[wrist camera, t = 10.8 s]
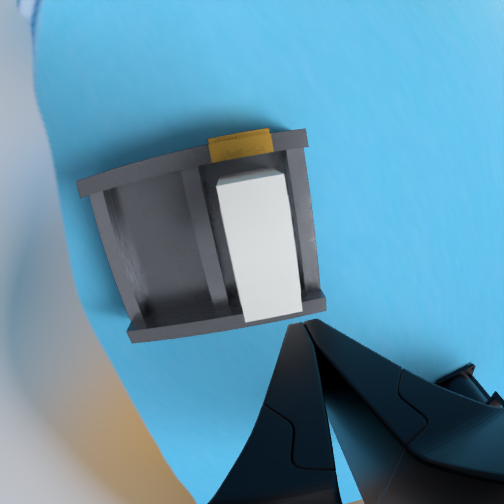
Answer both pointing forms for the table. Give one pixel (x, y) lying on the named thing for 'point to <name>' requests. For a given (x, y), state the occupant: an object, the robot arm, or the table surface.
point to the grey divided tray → (194, 233)
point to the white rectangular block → (260, 242)
